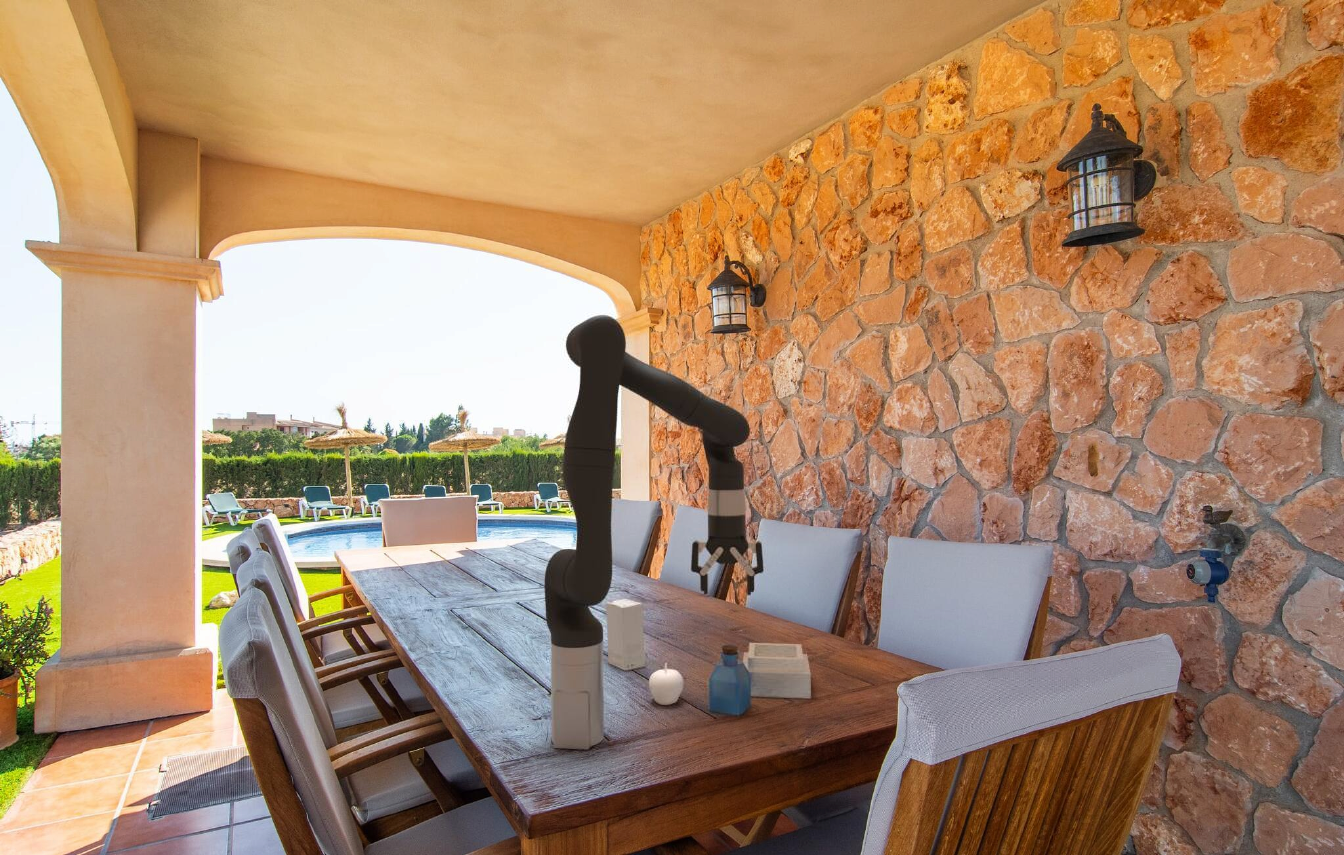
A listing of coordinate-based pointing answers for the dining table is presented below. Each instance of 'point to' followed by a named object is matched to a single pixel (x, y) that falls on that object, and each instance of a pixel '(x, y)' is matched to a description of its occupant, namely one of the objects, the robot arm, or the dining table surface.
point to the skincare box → (625, 634)
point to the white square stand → (778, 670)
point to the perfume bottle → (730, 684)
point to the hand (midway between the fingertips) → (727, 594)
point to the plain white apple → (666, 685)
